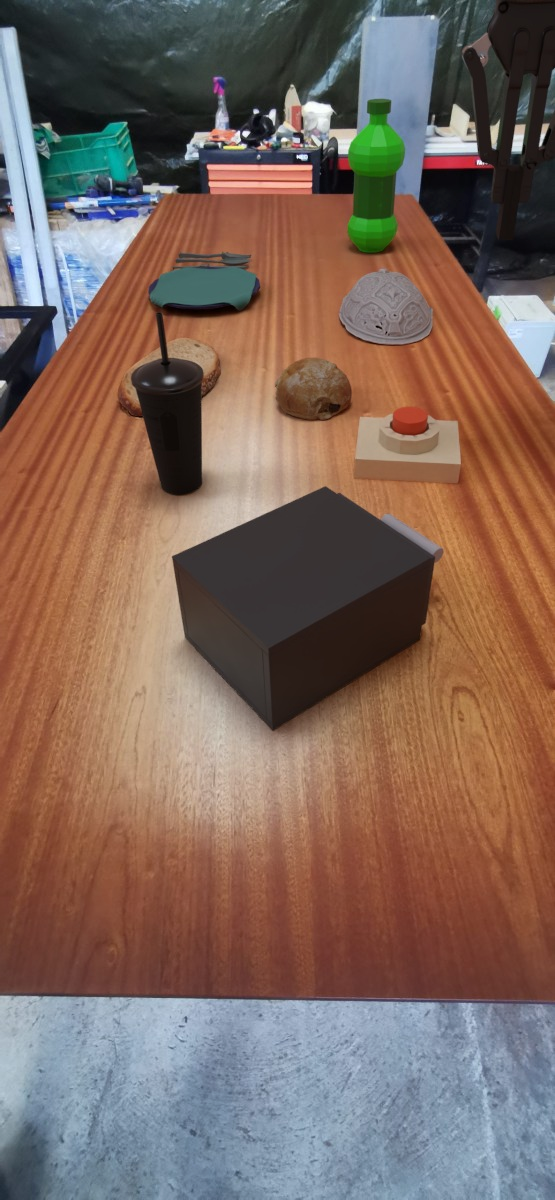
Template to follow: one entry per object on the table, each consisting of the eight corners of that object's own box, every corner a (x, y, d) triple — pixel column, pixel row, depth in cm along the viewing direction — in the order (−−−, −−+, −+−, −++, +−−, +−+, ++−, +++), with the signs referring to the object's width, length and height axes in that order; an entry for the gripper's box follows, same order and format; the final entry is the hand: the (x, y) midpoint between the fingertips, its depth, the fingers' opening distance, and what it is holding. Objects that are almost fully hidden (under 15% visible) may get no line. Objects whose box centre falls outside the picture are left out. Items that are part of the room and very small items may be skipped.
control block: (454, 440, 92) (459, 407, 89) (458, 484, 85) (463, 450, 82) (358, 435, 94) (360, 403, 91) (353, 478, 86) (355, 445, 83)
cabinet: (324, 565, 75) (325, 485, 68) (420, 640, 67) (432, 557, 60) (184, 637, 68) (171, 556, 61) (272, 731, 59) (268, 648, 53)
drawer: (369, 540, 76) (374, 475, 71) (459, 603, 69) (471, 536, 63) (208, 623, 68) (199, 557, 62) (290, 705, 60) (289, 638, 55)
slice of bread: (202, 346, 116) (199, 322, 113) (253, 391, 104) (252, 365, 101) (91, 372, 110) (86, 348, 107) (133, 423, 98) (128, 397, 95)
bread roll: (297, 448, 99) (313, 408, 92) (255, 393, 101) (268, 350, 95) (353, 425, 103) (372, 385, 96) (312, 372, 106) (328, 330, 99)
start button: (426, 420, 88) (427, 407, 87) (426, 437, 85) (428, 423, 84) (392, 419, 88) (393, 405, 87) (391, 435, 85) (392, 422, 84)
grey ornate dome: (341, 341, 114) (347, 296, 109) (335, 292, 133) (340, 252, 129) (441, 350, 114) (450, 305, 110) (420, 299, 133) (428, 260, 129)
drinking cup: (227, 482, 87) (213, 312, 73) (176, 510, 83) (151, 335, 69) (186, 459, 91) (165, 293, 77) (136, 484, 87) (105, 314, 73)
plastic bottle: (344, 241, 153) (349, 96, 136) (395, 240, 152) (406, 95, 136) (345, 257, 145) (350, 106, 129) (399, 256, 145) (411, 104, 128)
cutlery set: (138, 318, 125) (136, 304, 123) (170, 260, 147) (169, 247, 146) (255, 318, 123) (254, 304, 122) (269, 259, 146) (269, 246, 144)
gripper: (614, -61, 66) (560, 224, 82) (466, -52, 67) (440, 227, 83) (636, -62, 60) (573, 245, 76) (474, -52, 62) (445, 248, 77)
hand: (504, 235), depth 79 cm, fingers closed
